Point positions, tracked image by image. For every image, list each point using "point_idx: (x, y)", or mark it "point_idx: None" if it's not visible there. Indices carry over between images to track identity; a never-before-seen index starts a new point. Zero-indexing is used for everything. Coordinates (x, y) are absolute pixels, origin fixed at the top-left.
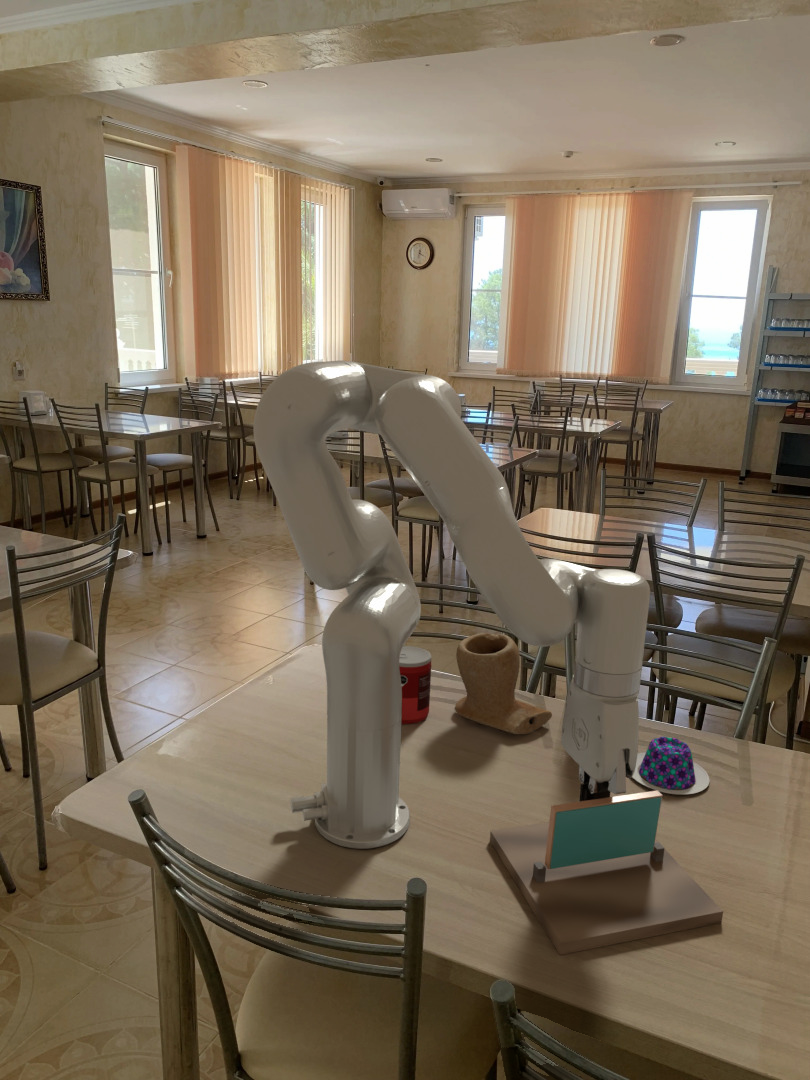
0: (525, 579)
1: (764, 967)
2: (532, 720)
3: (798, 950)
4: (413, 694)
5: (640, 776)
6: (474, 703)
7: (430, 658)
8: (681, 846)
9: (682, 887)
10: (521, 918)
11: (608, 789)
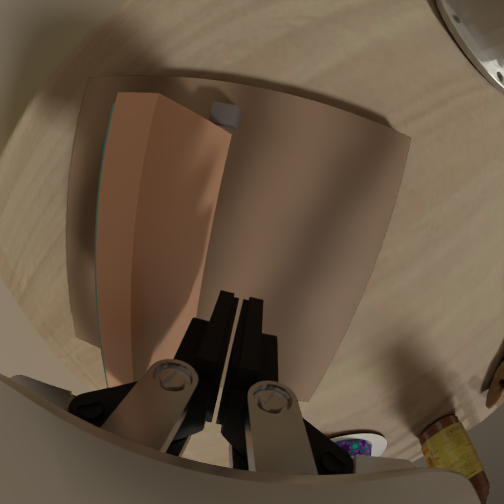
0: None
1: (36, 305)
2: (501, 384)
3: (52, 349)
4: None
5: (358, 438)
6: None
7: None
8: (219, 401)
9: None
10: (185, 58)
11: (66, 393)
